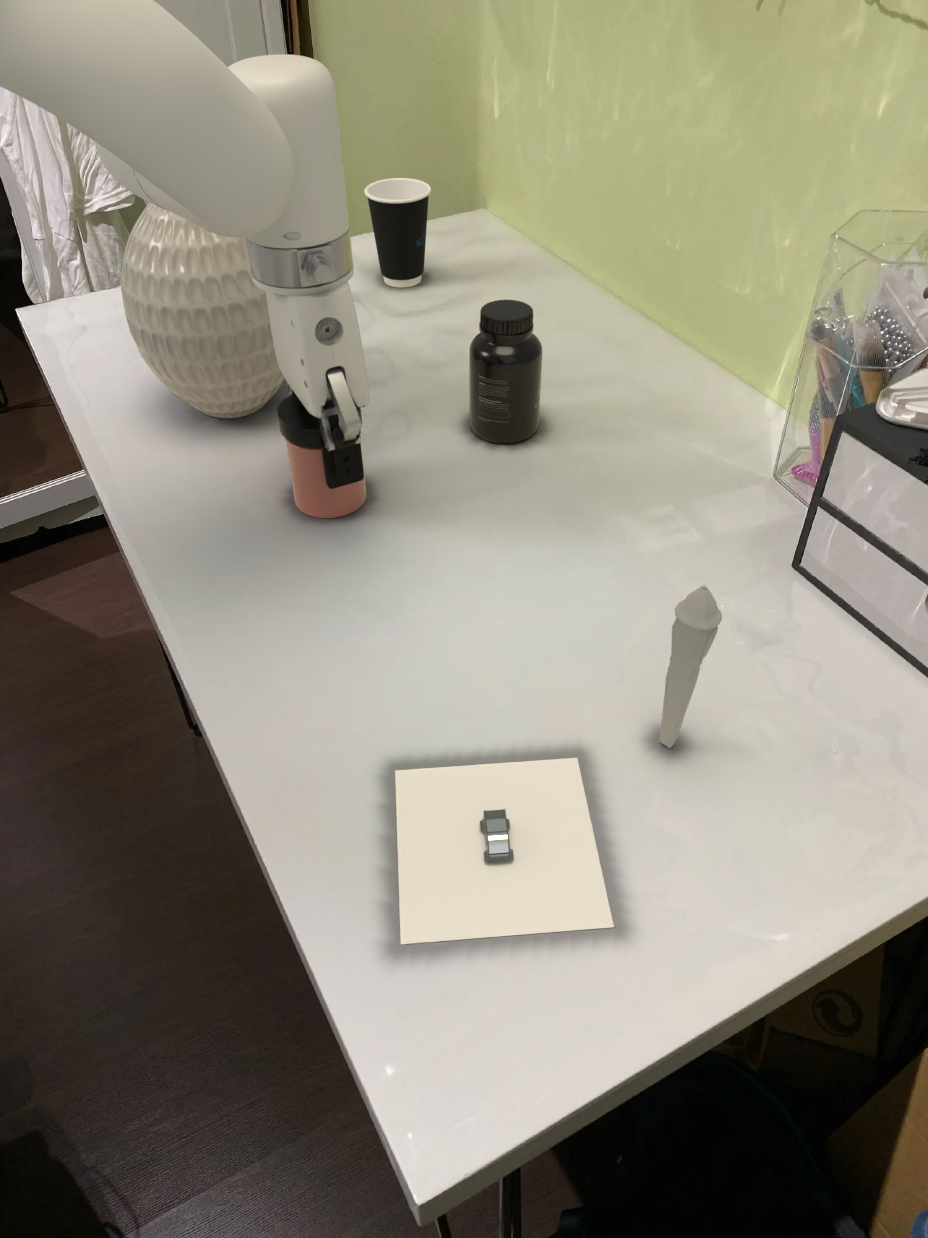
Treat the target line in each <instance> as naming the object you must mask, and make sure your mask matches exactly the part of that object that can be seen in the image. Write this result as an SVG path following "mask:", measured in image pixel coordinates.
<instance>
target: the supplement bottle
mask: <svg viewBox="0 0 928 1238" xmlns="http://www.w3.org/2000/svg"><path fill="white" fill-rule="evenodd" d="M478 329H479V333H478V334H476V335H475V337H474V338H473V339H472V341H471V342H470V345H469V352H468V353H469V355H468V356H469V357H468V358H469V367H468V368H469V425H470V428H471V429H472V432H474V433H475V434H476V436H477V437H479V438H481V439H483V440H486V441H488V442H492V443H497V444H512V443H518V442H521V441H524V440H526V439H528V438H530V437H532V435H533V434H535V432H537V430H538V427H539V422H540V411H541V410H540V409H541V390H542V389H541V387H542V371H543V345H542V342H541V341H540V339H539V338H538V337H537V335H535V334H534V333H533V332H534V309H533V306H531V305H530V304H528V303H526V302H524V301H520V300H516V299H498V300H493V301H489V302H487V303H486V304H483V306H481V309H480V313H479V324H478Z"/></svg>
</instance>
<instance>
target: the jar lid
mask: <svg viewBox="0 0 928 1238" xmlns="http://www.w3.org/2000/svg"><path fill="white" fill-rule="evenodd" d="M354 404H355V402H354ZM355 406H356V409H357V412H358V414H359V417H360V420H361V427H362V426H363V417H362V408H361V407H358V406H357V405H356V404H355ZM322 407H323V410H325V409H329V408H333V407H335V406H334V403H333V400H329V401H326V402H325V405H324V406H322ZM276 411H277V412H276V413H277V419H278V425H279V430H280V433H281V436H282V437H283V439H284V438H285V439H287V440H288V441H290V442H291V443H294V444H296V445H300V446H304V447H321V446H322V445H325V443H324V440H323V436H322V433H321V429H320V425H319V422H318V418H317V417H315V416H313V415H311V414H310V413H309V412H308V411H307V409H306V408H305V407H304V405H303V404H302V402H301V401H300V400H299V398H298V397H297V395H296V394H295V393H293V394H291V395H288V396H286V397H285V398H284V399H283V400H282V401H281V402H279V405H278V406H277V409H276ZM327 418H328V421H329V425H330V429H331V432H333V430H334V429H335V428H336V427H339V417H338V415H335V416H331V417H327ZM285 439H284V440H285Z"/></svg>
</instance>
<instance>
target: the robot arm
mask: <svg viewBox="0 0 928 1238" xmlns="http://www.w3.org/2000/svg"><path fill="white" fill-rule="evenodd" d="M0 88H3V90H4V89H5V90H6V91H9V92H10V93H13V94H15V95H16V96H19V97H20V98H23V99H25V100H26V101H28V102H30V103H32V104H34V105H35V106H37V107H39V108H41V109H43V110H45V111H46V112H48V113H50V114H51V115H53V116H55V117H57V119H59V120H61V121H62V122H64V123H66V124H68V125H69V126H70V127H71V128H74V129H75V130H77V131H78V132H79V133H81V134H82V135H84V136H86V137H87V138H89V139H90V140H92V141H93V142H94V146H95V149H96V153H97V155H98V157H99V159H100V161H101V163H102V164H103V167H104V168H105V169H106V171H107V172H108V173H109V175H110V176H111V177H112V178H113V179H114V180H115V181H116V182H117V183H118V184H119V185H120V186H121V187H123V188H124V189H126V190H127V191H129V192H130V193H132V194H133V195H135V196H137V197H138V198H140V199H143V200H145V201H146V202H148V203H149V202H150V203H152V204H154V205H156V206H158V207H160V208H162V209H164V210H167V211H169V212H172V213H174V214H176V215H178V216H180V217H182V218H184V219H186V220H188V221H190V222H192V223H194V224H196V225H198V226H200V227H202V228H204V229H206V230H208V231H210V232H212V233H215V234H218V235H221V236H225V237H235V238H240V237H245V241H246V246H247V252H248V258H249V263H250V269H251V275H252V280H253V283H254V284H255V285H256V286H257V287H258V288H260V289H262V290H265V291H266V297H267V305H268V313H269V320H270V326H271V332H272V338H273V344H274V349H275V353H276V358H277V361H278V365H279V368H280V370H281V372H282V374H283V376H284V378H285V379H284V380H285V381H286V389H287V392H288V396H290V395H291V394H293V393H295V394H296V395H297V397H298V398H299V400H300V401H301V402H302V404H303V405H304V407H305V408H306V409H307V411H308V412H309V413H310V414H311V415H313V416H315V417H317V418H318V422H319V425H320V429H321V433H322V436H323V440H324V443H325V445H322V446H321V452H322V459H323V465H324V472H325V479H326V484H327V486H328V487H329V488H330V489H334V488H337V487H341V486H344V485H348V484H351V483H355V482H358V481H361V480H363V478H364V474H365V469H364V470H363V464H364V460H363V461H362V454H363V451H362V452H361V444H362V436H361V437H360V433H362V430H361V429H362V426H361V420H360V417H359V414H358V412H357V409H356V406H355V404H356V405H357V406H358V407H362V408H366V407H367V406H369V404H370V398H371V397H370V390H369V389H370V388H369V383H368V375H367V368H366V362H365V355H364V349H363V342H362V335H361V329H360V325H359V320H358V314H357V309H356V305H355V301H354V297H353V293H352V290H351V286H350V283H349V281H350V280H351V279H352V278H353V276H354V273H355V269H354V261H353V259H354V258H353V251H352V240H351V239H352V238H351V229H350V220H349V211H348V202H347V190H346V181H345V180H346V179H345V171H344V160H343V151H342V142H341V141H342V140H341V129H340V120H339V110H338V109H339V108H338V100H337V93H336V92H337V91H336V86H335V81H334V78H333V76H332V75H331V71H330V70H329V69H328V68H327V66H326V65H324V64H323V63H322V62H320V61H319V60H317V59H315V58H312V57H308V56H304V55H299V54H288V53H287V54H285V53H284V54H283V53H282V54H281V53H279V54H265V55H264V54H263V55H258V56H251V57H247V58H244V59H241V60H238V61H236V62H234V63H232V64H231V65H229V66H227V65H226V64H225V63H224V62H223V61H222V60H221V59H220V58H219V57H218V56H217V55H216V54H215V53H214V52H213V51H212V50H211V49H210V48H209V47H208V46H207V45H206V44H205V43H203V41H201V40H200V39H199V37H198V36H196V35H195V33H193V32H192V31H191V30H189V29H188V28H187V27H186V26H185V25H184V24H183V23H182V22H181V21H180V20H178V19H177V18H176V17H174V15H172V14H171V13H170V12H169V11H168V10H166V9H165V8H164V7H163V6H161V5H160V4H159V3H158V2H156V1H155V0H0ZM329 400H333V403H334V406H335V407H333V408H329V409H325V410H323V407H322V406H324V405H325V402H326V401H329ZM354 402H355V404H354ZM335 415H338V417H339V427H336V428H335V429H334V430H333V432H331V429H330V425H329V421H328V418H327V417H331V416H335Z"/></svg>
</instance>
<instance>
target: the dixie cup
mask: <svg viewBox="0 0 928 1238" xmlns="http://www.w3.org/2000/svg"><path fill="white" fill-rule="evenodd" d="M431 192H432V187H431V186H430V185H429V184H428V183H427V182H426V181H422V180H420V179H416V178H409V177H408V178H407V177H395V178H394V177H391V178H385V179H380V180H376V181H374V182H372V183H369V184H368V185H366V187H365V188H364V195H365V196H366V197H367V202H368V207H369V214H370V220H371V226H372V230H373V236H374V243H375V247H376V252H377V259H378V264H379V270H380V273H381V276H383V282H384V283H385V284H386V285H388V286H390V287H392V288H403V289H404V288H410V287H414V286H417V285H418V284H420V283H421V282H422V277H423V274H424V272H425V271H424V270H425V257H426V245H427V244H426V242H427V241H426V240H427V227H428V215H429V213H428V212H429V198H430V194H431Z"/></svg>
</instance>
